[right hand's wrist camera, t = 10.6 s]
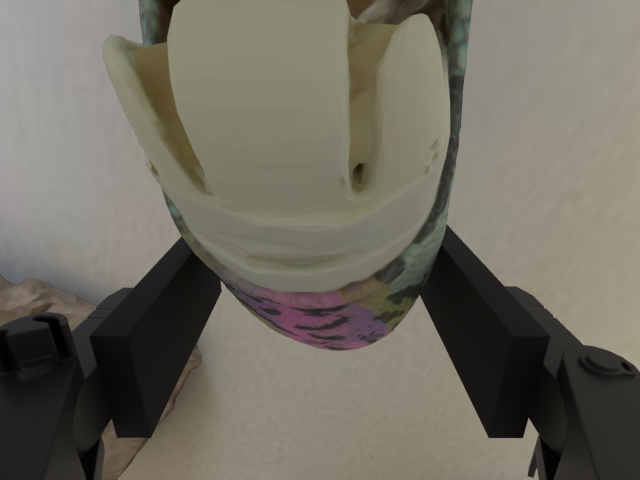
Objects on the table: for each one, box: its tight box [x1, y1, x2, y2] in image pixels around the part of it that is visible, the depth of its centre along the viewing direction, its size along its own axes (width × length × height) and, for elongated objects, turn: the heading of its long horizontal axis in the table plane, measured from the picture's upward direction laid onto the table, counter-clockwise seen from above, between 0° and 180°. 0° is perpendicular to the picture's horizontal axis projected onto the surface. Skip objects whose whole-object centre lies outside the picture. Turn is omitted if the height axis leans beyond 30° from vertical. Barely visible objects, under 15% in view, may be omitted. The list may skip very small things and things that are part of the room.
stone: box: [0, 275, 202, 480], centre depth 25 cm, size 21×15×6 cm
